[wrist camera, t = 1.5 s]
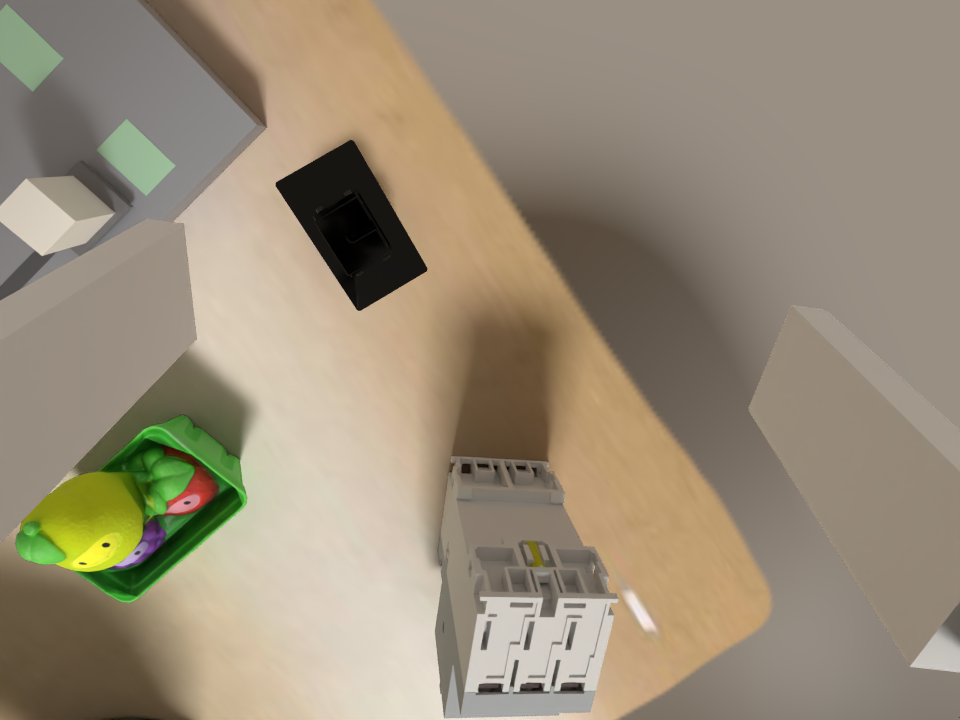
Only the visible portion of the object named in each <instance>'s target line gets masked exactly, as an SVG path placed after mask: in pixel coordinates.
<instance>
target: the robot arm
mask: <svg viewBox="0 0 960 720" xmlns="http://www.w3.org/2000/svg"><path fill="white" fill-rule="evenodd" d="M196 339H197V336H196V327H195V318H194V309H193V301H192V292H191V283H190V274H189V266H188V257H187V248H186V239H185V230H184V224H183V223H175V222H168V221H160V220H153V219H146V220H144V221H142V222H140V223H138V224H137V225H135V226H133V227H131V228H129V229H128V230H126V231H124V232H122V233H120V234H119V235H117V236H115V237H113V238H111V239H110V240H108V241H106V242H104V243H103V244H101V245H99V246H97V247H95V248H94V249H92V250H90V251H88V252H86V253H85V254H83V255H81V256H79V257H77V258H76V259H74V260H72V261H70V262H68V263H67V264H65V265H63V266H61V267H60V268H58V269H56V270H54V271H52V272H51V273H49V274H47V275H45V276H43V277H42V278H40V279H38V280H36V281H34V282H33V283H31V284H29V285H27V286H25V287H24V288H22V289H20V290H18V291H16V292H15V293H13V294H11V295H9V296H8V297H6V298H4V299H2V300H0V544H1V543H2V541H3V540H4V539H5V538H6V537H7V536H8V535H9V534H10V533H11V532H12V531H13V530H14V529H15V528H16V527H17V526H18V525H19V524H20V523H21V522H22V521H23V520H24V519H25V518H26V516H27V515H28V514H29V513H30V512H31V511H32V510H33V509H34V508H35V507H36V506H37V505H38V504H39V503H40V502H41V501H42V500H43V499H44V498H45V497H46V496H47V495H48V494H49V493H50V491H51V490H52V489H53V488H54V487H55V486H56V485H57V484H58V483H59V482H60V481H61V480H62V479H63V478H64V477H65V476H66V475H67V474H68V473H69V472H70V471H71V470H72V469H73V468H74V466H75V465H76V464H77V463H78V462H79V461H80V460H81V459H82V458H83V457H84V456H85V455H86V454H87V453H88V452H89V451H90V450H91V449H92V448H93V447H94V446H95V445H96V444H97V443H98V441H99V440H100V439H101V438H102V437H103V436H104V435H105V434H106V433H107V432H108V431H109V430H110V429H111V428H112V427H113V426H114V425H115V424H116V423H117V422H118V421H119V420H120V419H121V418H122V416H123V415H124V414H125V413H126V412H127V411H128V410H129V409H130V408H131V407H132V406H133V405H134V404H135V403H136V402H137V401H138V400H139V399H140V398H141V397H142V396H143V395H144V394H145V393H146V391H147V390H148V389H149V388H150V387H151V386H152V385H153V384H154V383H155V382H156V381H157V380H158V379H159V378H160V377H161V376H162V375H163V374H164V373H165V372H166V371H167V370H168V369H169V368H170V366H171V365H172V364H173V363H174V362H175V361H176V360H177V359H178V358H179V357H180V356H181V355H182V354H183V353H184V352H185V351H186V350H187V349H188V348H189V347H190V346H191V345H192V344H193V343H194V341H195V340H196ZM748 410H749V412H750V413H751V415H752V417H753V418H754V420H755V421H756V423H757V424H758V426H759V428H760V429H761V431H762V432H763V434H764V436H765V437H766V439H767V440H768V442H769V444H770V445H771V446H772V448H773V450H774V451H775V453H776V455H777V456H778V458H779V459H780V461H781V462H782V464H783V466H784V467H785V469H786V470H787V472H788V474H789V475H790V477H791V479H792V480H793V482H794V483H795V485H796V486H797V488H798V490H799V491H800V493H801V494H802V496H803V497H804V499H805V501H806V502H807V504H808V505H809V507H810V509H811V510H812V512H813V514H814V515H815V517H816V518H817V520H818V521H819V523H820V525H821V526H822V528H823V529H824V531H825V532H826V534H827V536H828V537H829V539H830V541H831V542H832V544H833V545H834V547H835V549H836V550H837V551H838V553H839V555H840V556H841V558H842V559H843V561H844V563H845V564H846V566H847V568H848V569H849V571H850V572H851V574H852V575H853V577H854V579H855V580H856V582H857V583H858V585H859V587H860V588H861V590H862V591H863V593H864V594H865V596H866V598H867V599H868V601H869V603H870V604H871V606H872V607H873V609H874V611H875V612H876V614H877V615H878V617H879V618H880V620H881V622H882V623H883V625H884V626H885V628H886V630H887V631H888V633H889V634H890V636H891V638H892V639H893V641H894V642H895V644H896V645H897V647H898V649H899V650H900V652H901V653H902V655H903V657H904V658H905V660H906V661H907V663H908V664H909V666H910V667H918V668H926V669H935V670H944V671H952V672H960V430H959V429H958V428H957V427H956V426H955V425H954V424H952V423H951V422H950V421H949V420H948V419H947V418H946V417H945V416H944V415H942V414H941V413H940V412H939V411H938V410H937V409H936V408H935V407H933V406H932V405H931V404H930V403H929V402H928V401H927V400H926V399H925V398H924V397H922V396H921V395H920V394H919V393H918V392H917V391H916V390H914V389H913V388H912V387H911V386H910V385H909V384H908V383H907V382H906V381H905V380H903V379H902V378H901V377H900V376H899V375H898V374H897V373H896V372H895V371H893V370H892V369H891V368H890V367H889V366H888V365H887V364H886V363H884V362H883V361H882V360H881V359H880V358H879V357H878V356H877V355H876V354H874V353H873V352H872V351H871V350H870V349H869V348H868V347H867V346H865V345H864V344H863V343H862V342H861V341H860V340H859V339H858V338H857V337H856V336H854V335H853V334H852V333H851V332H850V331H849V330H848V329H847V328H846V327H844V326H843V325H842V324H841V323H840V322H839V321H838V320H837V319H836V318H834V317H833V316H832V315H831V314H830V313H829V312H828V311H827V310H824V309H817V308H809V307H802V306H794V305H791V308H790V310H789V313H788V315H787V317H786V320H785V322H784V324H783V327H782V329H781V332H780V334H779V337H778V339H777V341H776V344H775V346H774V349H773V351H772V353H771V356H770V358H769V361H768V363H767V365H766V368H765V370H764V373H763V375H762V377H761V380H760V382H759V384H758V387H757V389H756V392H755V394H754V396H753V399H752V401H751V404H750V406H749V408H748ZM116 720H146V719H116Z"/></svg>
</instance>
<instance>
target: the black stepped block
mask: <svg viewBox="0 0 960 720" xmlns="http://www.w3.org/2000/svg"><path fill="white" fill-rule="evenodd" d="M276 187H277V189H278V190H279V192H280V193H281V195H282V196H283V198H284V199H285V201H286V202H287V204H288V205H289V207H290V208H291V210H292V211H293V213H294V215H295V216H296V218H297V219H298V221H299V222H300V224H301V225H302V227H303V228H304V230H305V231H306V233H307V234H308V236H309V237H310V239H311V240H312V242H313V244H314V245H315V247H316V248H317V250H318V251H319V253H320V254H321V256H322V257H323V259H324V260H325V262H326V263H327V265H328V266H329V268H330V269H331V271H332V272H333V274H334V276H335V277H336V279H337V280H338V282H339V283H340V285H341V286H342V288H343V289H344V291H345V292H346V294H347V295H348V297H349V298H350V300H351V301H352V303H353V305H354V306H355V308H356V309H357V310H358V311H361V310H363V309H364V308H366V307H368V306H369V305H371V304H373V303H374V302H376V301H378V300H379V299H381V298H383V297H384V296H386V295H388V294H389V293H391V292H393V291H394V290H396V289H398V288H399V287H401V286H403V285H404V284H406V283H408V282H410V281H411V280H413V279H415V278H416V277H418V276H420V275H421V274H423V273H425V272H426V271H427V267H426V265H425V263H424V262H423V260H422V258H421V256H420V255H419V253H418V251H417V249H416V248H415V246H414V244H413V243H412V241H411V239H410V237H409V236H408V234H407V232H406V230H405V229H404V227H403V225H402V224H401V222H400V220H399V218H398V217H397V215H396V213H395V211H394V210H393V208H392V206H391V205H390V203H389V201H388V199H387V198H386V196H385V194H384V192H383V191H382V189H381V187H380V186H379V184H378V182H377V180H376V179H375V177H374V175H373V173H372V172H371V170H370V168H369V167H368V165H367V163H366V161H365V160H364V158H363V156H362V154H361V153H360V151H359V149H358V148H357V146H356V144H355V142H354V141H352V140H350V141H348V142H346V143H345V144H343V145H341V146H339V147H337V148H336V149H334V150H332V151H330V152H329V153H327V154H325V155H323V156H322V157H320V158H318V159H316V160H315V161H313V162H311V163H309V164H308V165H306V166H304V167H302V168H300V169H299V170H297V171H295V172H293V173H292V174H290V175H288V176H286V177H285V178H283V179H281V180H279V181H278V182H276Z"/></svg>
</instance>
